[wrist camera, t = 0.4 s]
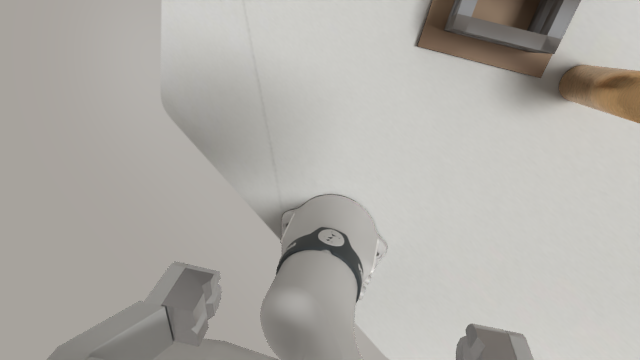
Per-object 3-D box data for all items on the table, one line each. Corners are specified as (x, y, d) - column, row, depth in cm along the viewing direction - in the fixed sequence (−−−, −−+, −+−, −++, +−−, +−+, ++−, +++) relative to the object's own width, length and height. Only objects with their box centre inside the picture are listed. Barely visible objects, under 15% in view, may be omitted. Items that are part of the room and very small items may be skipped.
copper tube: (587, 105, 44) (701, 141, 28) (552, 96, 44) (644, 126, 28) (607, 70, 42) (742, 86, 26) (570, 60, 42) (680, 71, 26)
